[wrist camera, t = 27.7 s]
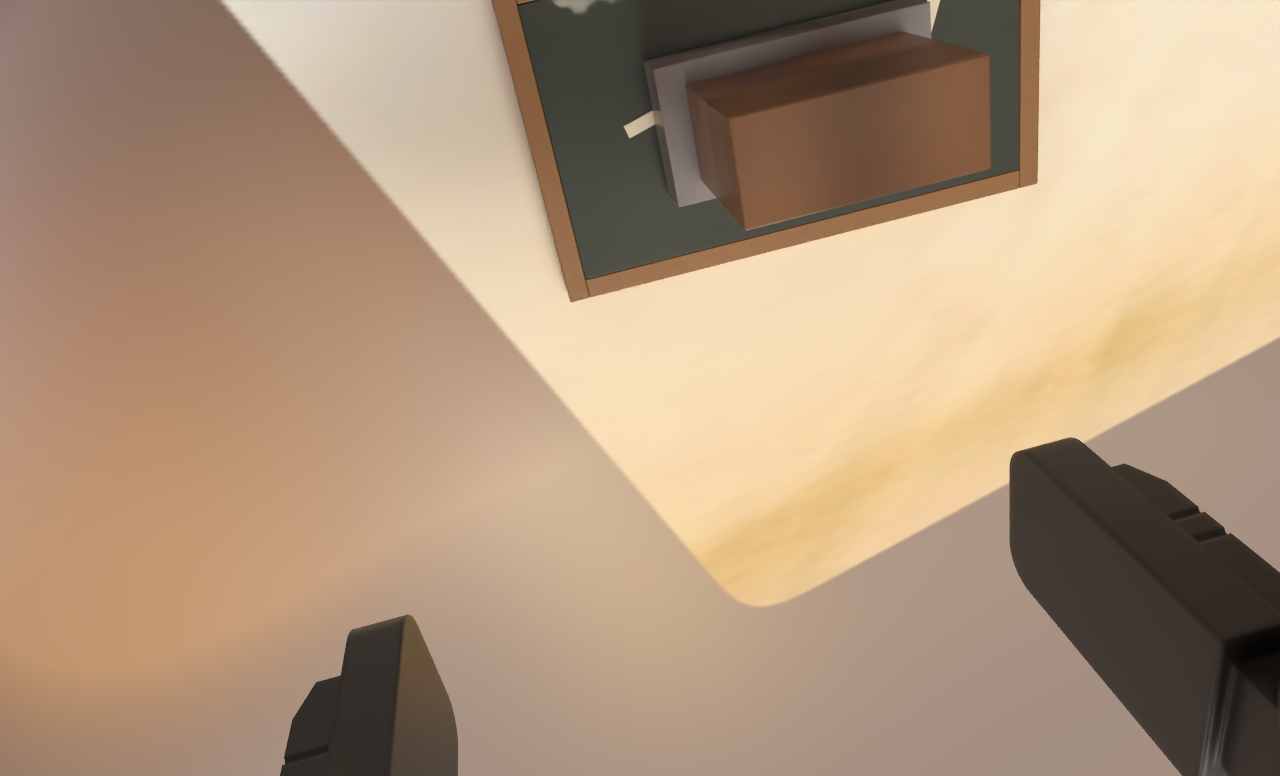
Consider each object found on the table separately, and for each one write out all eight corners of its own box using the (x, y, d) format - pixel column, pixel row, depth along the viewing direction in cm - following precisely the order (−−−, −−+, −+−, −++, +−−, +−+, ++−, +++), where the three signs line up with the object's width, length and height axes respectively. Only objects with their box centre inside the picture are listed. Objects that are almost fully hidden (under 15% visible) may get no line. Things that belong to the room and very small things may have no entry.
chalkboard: (487, -17, 32) (488, -15, 31) (1024, -144, 33) (1043, -146, 32) (567, 292, 38) (570, 303, 36) (1022, 176, 39) (1038, 184, 37)
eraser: (668, 193, 35) (717, 262, 28) (642, 60, 33) (690, 99, 26) (913, 132, 36) (1022, 184, 29) (906, -3, 33) (1023, 17, 26)
